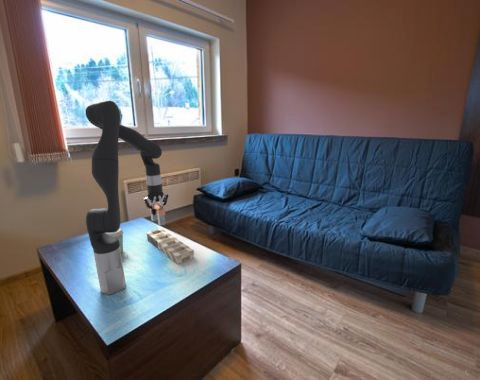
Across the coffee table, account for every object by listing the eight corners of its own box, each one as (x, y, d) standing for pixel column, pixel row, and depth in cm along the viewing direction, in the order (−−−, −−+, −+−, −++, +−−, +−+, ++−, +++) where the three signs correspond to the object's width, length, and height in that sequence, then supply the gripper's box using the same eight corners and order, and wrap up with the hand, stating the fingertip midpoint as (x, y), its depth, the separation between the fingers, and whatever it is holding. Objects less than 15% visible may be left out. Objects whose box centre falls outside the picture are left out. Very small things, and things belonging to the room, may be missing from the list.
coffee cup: (103, 253, 131) (100, 232, 128) (118, 246, 139) (115, 225, 136) (115, 257, 128) (111, 235, 124) (129, 250, 135) (126, 228, 132)
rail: (194, 257, 126) (193, 250, 125) (177, 264, 121) (176, 256, 120) (162, 234, 153) (161, 228, 152) (146, 239, 147) (146, 232, 146)
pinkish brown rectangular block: (166, 224, 138) (164, 209, 136) (160, 226, 136) (158, 210, 133) (156, 218, 147) (155, 203, 144) (150, 219, 144) (149, 205, 142)
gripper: (143, 186, 128) (147, 219, 133) (170, 182, 137) (172, 212, 142) (138, 184, 134) (142, 215, 138) (163, 179, 143) (166, 209, 147)
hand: (157, 213), depth 140 cm, fingers closed on pinkish brown rectangular block, 3 cm apart
